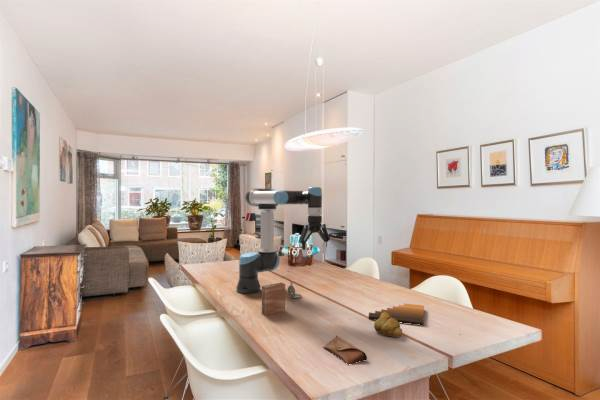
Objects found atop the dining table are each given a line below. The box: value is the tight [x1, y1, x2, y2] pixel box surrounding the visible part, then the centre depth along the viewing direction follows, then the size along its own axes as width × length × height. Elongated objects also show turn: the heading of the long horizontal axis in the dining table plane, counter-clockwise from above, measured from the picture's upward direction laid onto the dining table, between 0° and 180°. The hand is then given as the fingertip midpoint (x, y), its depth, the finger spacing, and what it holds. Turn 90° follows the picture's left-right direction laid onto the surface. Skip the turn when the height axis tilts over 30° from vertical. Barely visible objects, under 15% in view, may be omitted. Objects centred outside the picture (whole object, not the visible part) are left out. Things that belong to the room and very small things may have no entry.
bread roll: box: [373, 312, 403, 338], centre depth 150 cm, size 13×10×8 cm
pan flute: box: [368, 303, 425, 326], centre depth 175 cm, size 25×3×25 cm
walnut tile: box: [261, 282, 286, 316], centre depth 178 cm, size 4×12×14 cm, turn 127°
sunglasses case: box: [322, 335, 368, 366], centre depth 131 cm, size 18×7×7 cm
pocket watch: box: [287, 281, 303, 299], centre depth 204 cm, size 8×8×10 cm
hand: (314, 254), depth 188 cm, fingers open, 13 cm apart
